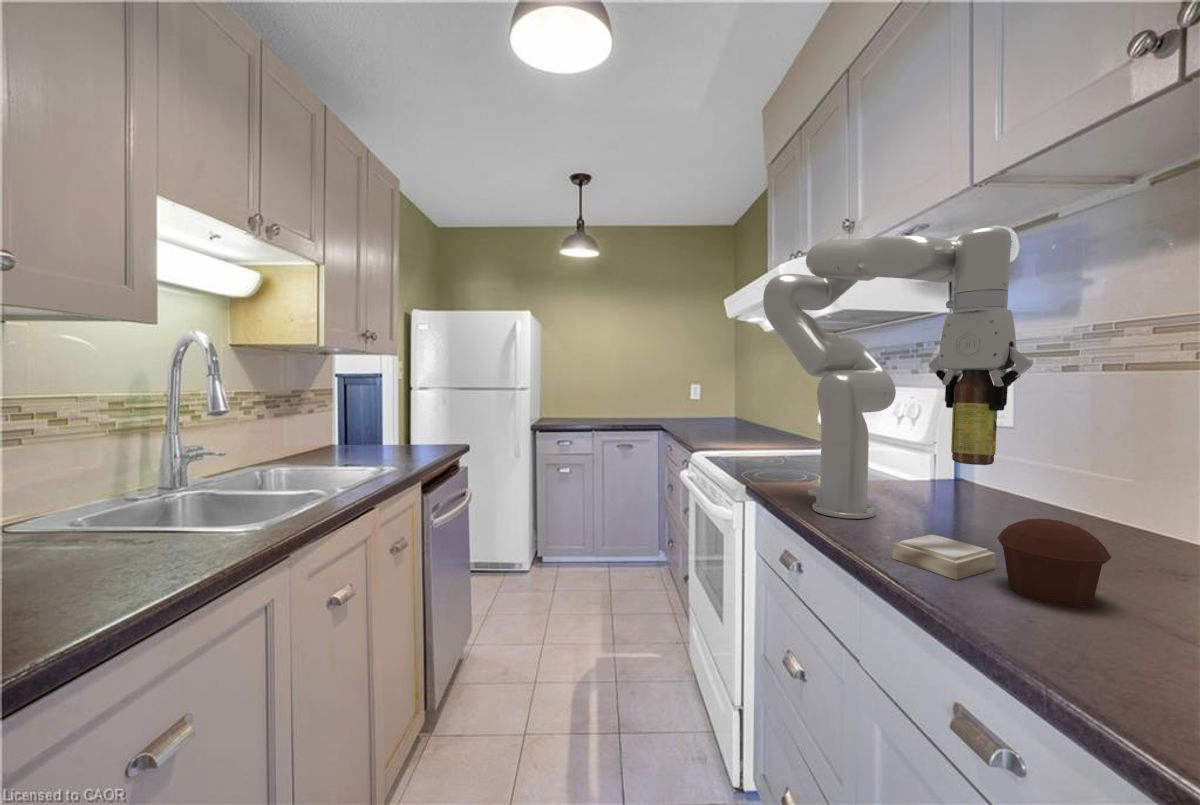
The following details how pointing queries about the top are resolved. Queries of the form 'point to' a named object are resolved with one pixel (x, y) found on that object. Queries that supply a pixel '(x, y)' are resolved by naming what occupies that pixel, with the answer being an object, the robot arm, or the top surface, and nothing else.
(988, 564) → the birch riser
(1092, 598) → the muffin
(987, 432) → the sauce bottle
